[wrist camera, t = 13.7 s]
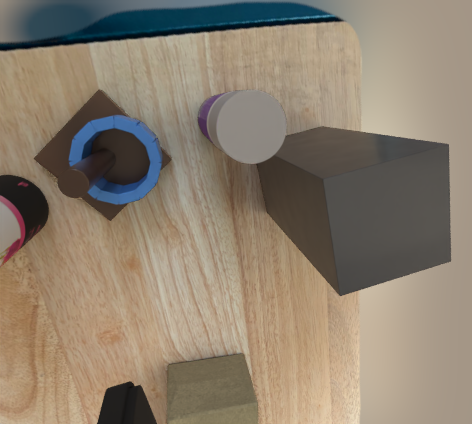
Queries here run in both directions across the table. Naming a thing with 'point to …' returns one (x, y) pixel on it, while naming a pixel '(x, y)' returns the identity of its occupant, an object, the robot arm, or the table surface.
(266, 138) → the container
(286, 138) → the pedestal
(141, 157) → the stand
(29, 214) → the beverage can
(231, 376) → the tissue box
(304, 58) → the table surface
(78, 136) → the ring
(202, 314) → the table surface
